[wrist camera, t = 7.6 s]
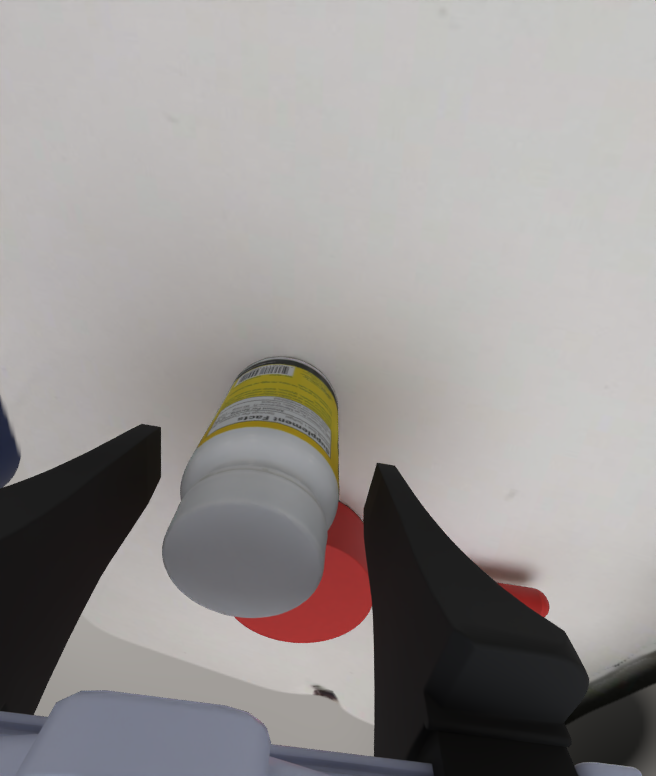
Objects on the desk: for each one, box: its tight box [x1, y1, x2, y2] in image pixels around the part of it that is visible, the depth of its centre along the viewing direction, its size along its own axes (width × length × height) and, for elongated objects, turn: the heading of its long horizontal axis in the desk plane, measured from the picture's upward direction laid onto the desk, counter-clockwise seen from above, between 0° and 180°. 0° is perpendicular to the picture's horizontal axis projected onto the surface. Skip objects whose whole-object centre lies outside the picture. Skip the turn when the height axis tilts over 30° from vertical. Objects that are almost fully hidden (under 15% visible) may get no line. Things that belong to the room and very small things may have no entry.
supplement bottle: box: [162, 357, 339, 618], centre depth 13 cm, size 5×5×8 cm
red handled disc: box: [235, 501, 549, 643], centre depth 20 cm, size 16×7×3 cm, turn 80°
